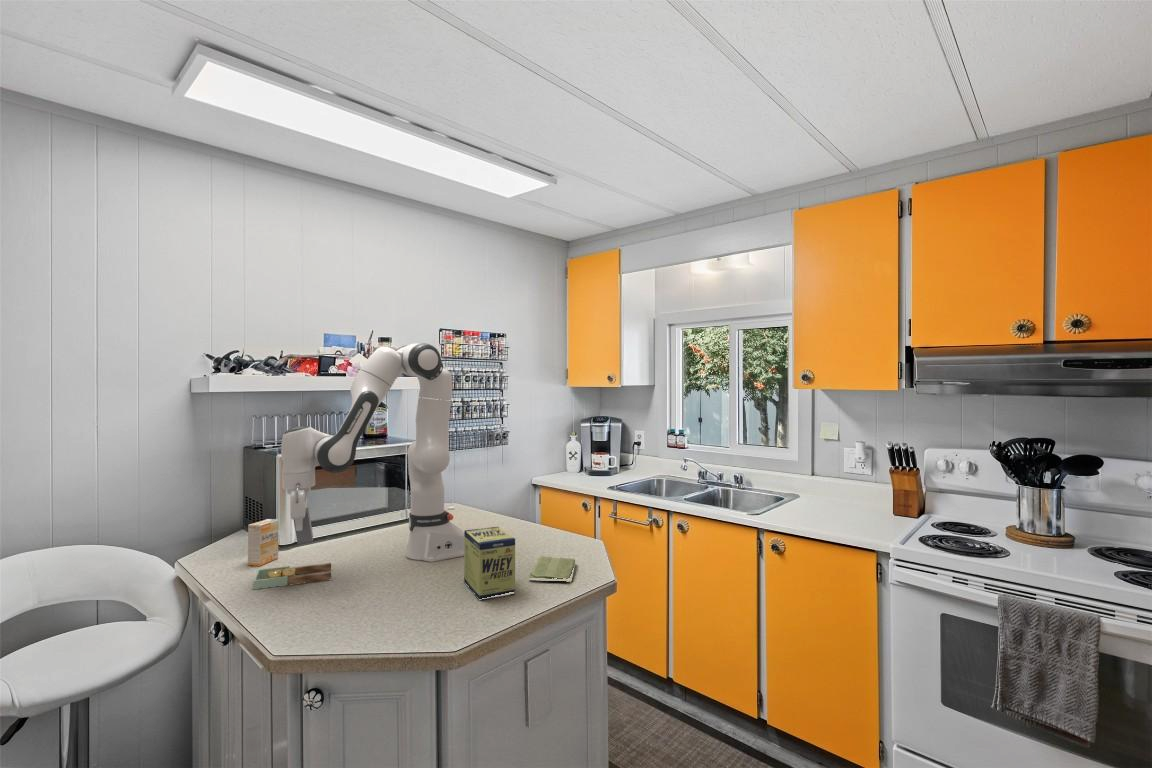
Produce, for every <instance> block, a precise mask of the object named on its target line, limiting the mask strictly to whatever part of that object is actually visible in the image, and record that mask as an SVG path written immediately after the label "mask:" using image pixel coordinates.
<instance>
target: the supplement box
mask: <svg viewBox="0 0 1152 768" xmlns="http://www.w3.org/2000/svg"><path fill="white" fill-rule="evenodd" d="M279 521H280V520H279V519H276V518H273V519H272V518H266V519H264V520H260V521H257V522H253V523H250V524H248V527H247V529H248V530H247V531H248V533H247V536H248V537H247V565H248V566H250V565H253V567H261V566H263V565H266V564H268V563H270V562H272V561H275V560H278V559H279Z"/></svg>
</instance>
